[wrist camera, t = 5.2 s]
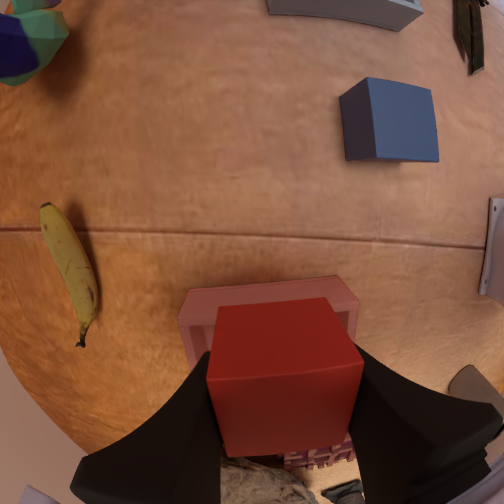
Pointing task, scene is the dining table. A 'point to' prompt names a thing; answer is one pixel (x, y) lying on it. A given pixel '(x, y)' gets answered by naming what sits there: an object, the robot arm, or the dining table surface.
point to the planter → (477, 391)
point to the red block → (282, 377)
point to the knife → (476, 32)
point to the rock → (260, 484)
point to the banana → (71, 265)
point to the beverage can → (346, 494)
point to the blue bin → (354, 10)
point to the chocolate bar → (319, 456)
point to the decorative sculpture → (29, 39)
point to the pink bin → (209, 299)
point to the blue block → (389, 122)
